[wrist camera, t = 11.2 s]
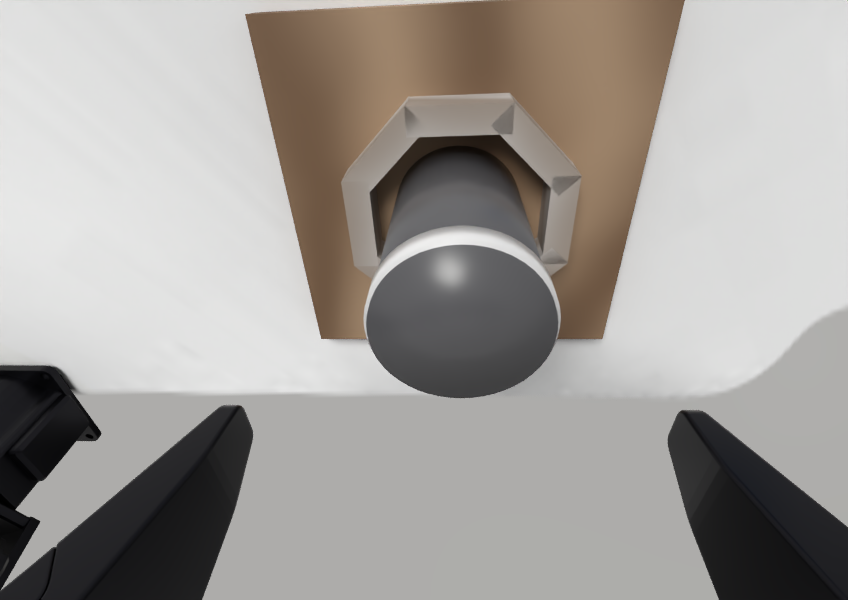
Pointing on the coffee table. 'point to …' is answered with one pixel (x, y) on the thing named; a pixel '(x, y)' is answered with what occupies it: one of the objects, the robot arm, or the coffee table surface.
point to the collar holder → (465, 128)
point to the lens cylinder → (460, 281)
